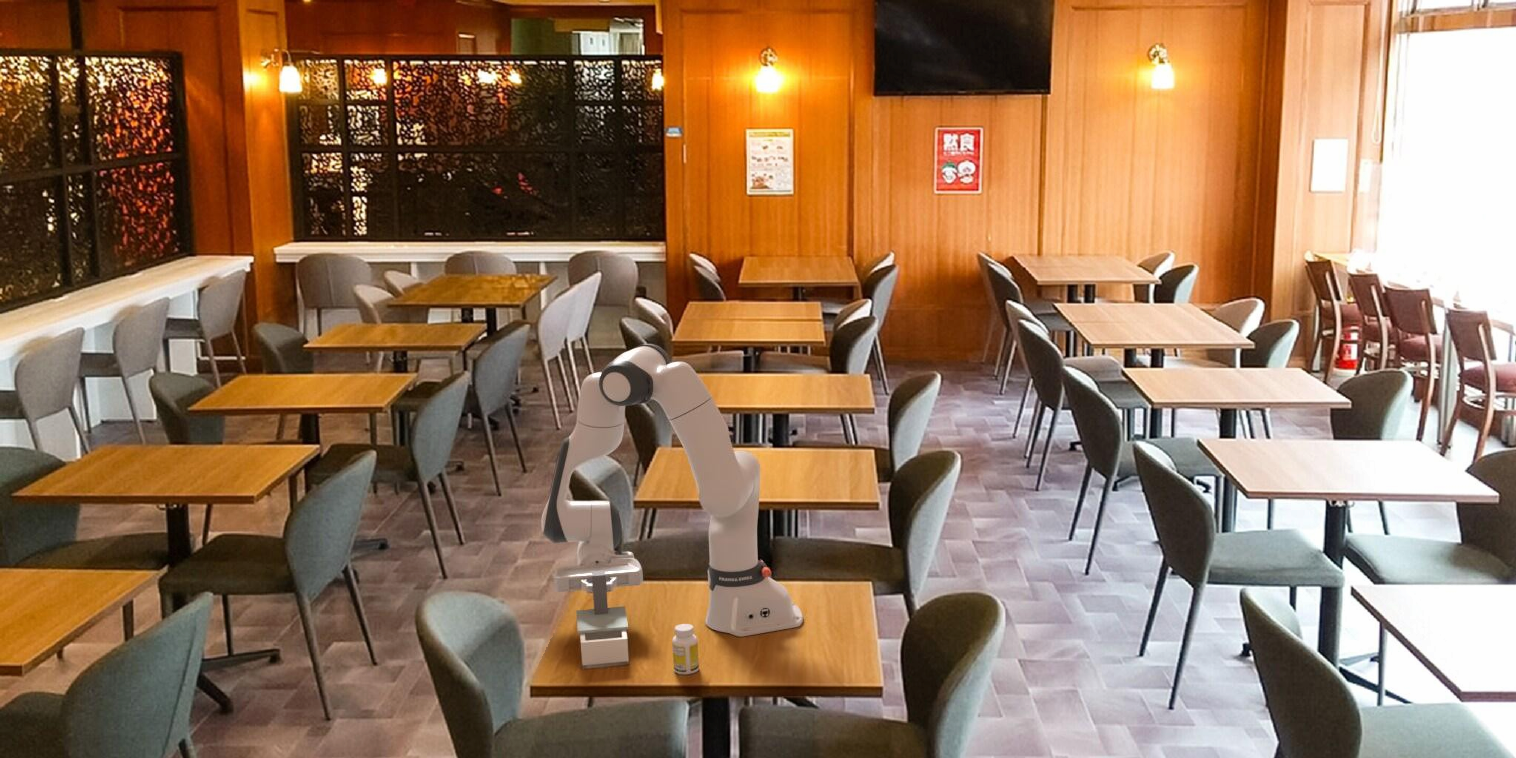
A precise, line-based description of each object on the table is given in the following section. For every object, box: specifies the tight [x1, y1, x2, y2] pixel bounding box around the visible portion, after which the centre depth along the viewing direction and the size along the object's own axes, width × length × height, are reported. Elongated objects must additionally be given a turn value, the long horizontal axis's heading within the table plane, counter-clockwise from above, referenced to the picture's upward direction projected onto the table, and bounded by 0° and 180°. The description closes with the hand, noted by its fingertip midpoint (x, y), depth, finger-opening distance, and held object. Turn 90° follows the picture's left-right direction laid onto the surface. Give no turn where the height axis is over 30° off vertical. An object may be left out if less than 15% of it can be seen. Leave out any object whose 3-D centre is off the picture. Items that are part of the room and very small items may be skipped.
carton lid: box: [575, 570, 629, 635], centre depth 319 cm, size 12×11×10 cm
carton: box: [579, 629, 630, 670], centre depth 315 cm, size 11×10×6 cm
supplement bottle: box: [671, 623, 700, 676], centre depth 307 cm, size 5×5×10 cm
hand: (599, 589), depth 321 cm, fingers closed on carton lid, 3 cm apart
